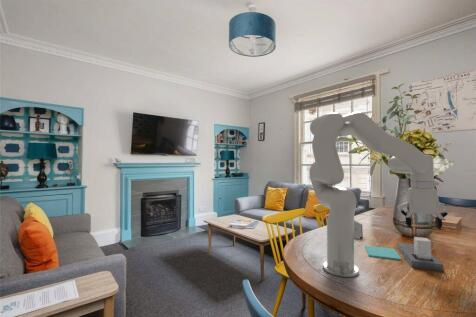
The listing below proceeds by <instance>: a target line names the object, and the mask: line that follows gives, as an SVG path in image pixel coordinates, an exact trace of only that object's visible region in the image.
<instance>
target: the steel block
mask: <svg viewBox="0 0 476 317" xmlns="http://www.w3.org/2000/svg"><path fill="white" fill-rule="evenodd" d="M413 244H414V258H415V259H416V260H425V261H431V254H432V241H431V240H430V239H429V238H427V237H420V236H414V237H413Z"/></svg>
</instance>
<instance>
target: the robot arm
mask: <svg viewBox="0 0 476 317" xmlns="http://www.w3.org/2000/svg"><path fill="white" fill-rule="evenodd" d="M309 124H310V125H309V130H310V133H311V134H312V135H313V138H312V144H311V145H312V146H311V148H312V154H313V157H314V158H313V159H314V162H313V163H312V164H311V166H310V167H309V172H308V173H309V180H310V182H311V186H312V189H313V191H314V194H315V197H316V200H317V201H318V203H319V204H320V205H321V206H323V207H325V208H327V209H329V212H328V214H327V220H326V247H327V248H326V255H327V256H326V260H325V261H324V262H323V263H322V269H323V270H324V271H326V272H327V273H329V274H331V275H333V276H335V277H336V276H337V277H341V278H342V277H343V278H353V277H356V276H358V275H359V273H360V269H359V267H358V266H357V265H355V238H354V220H355V212H356V207H357V197H356V194H354V192H353V191H352V190H350V189H348V188H346V187H343V186H339V184H341V183H342V182H343V180H344V178H345V172H344V169H343V166H342V162H341V160H340V156H339V154H338V150H337V139H338V137H346V136H351V135H353V136H354V137H355V138H356V139H358V140H359V142H360V143H362V144H363V145H364V146H366V147H367V148H368V150H371V151H373V152H376V153H379V154H383V155H386V156H387V155H388V156H390V158H389V159H388V160H387V167H388V168H389V170H390V171H391V172H394V173H397V174H398V173H399V174H410V187H408V189H407V194H406V201H405V202H403V203H401V204H398V205H397V206H396V207H397V208H398V209H397V210H399V212H400V213H401V215H403V216H404V217H405V225H406V226H407V228H412V218H411V216H412V215H413V214H420V215H434V216H436V217H435V218H434V220H435V223H434V224H435V225H434V227H435V228H436V229H438V230H442V228H443V220H444V218H445V217H447V216H448V213H449V212H450V210H451V207H448V206H446V205H444V204H441V203H440V200H439V195H438V191H437V188H436V187H438V186H439V182H436V181H435V178H434V177H435V175H434V174H435V172H434V170H435V168H434V157H433V155H431V154H424V153H423V152H422V151H421V150H420V149H419V148H417V147H416V146H415V145H414V144H411V143H410V142H408V141H406V140H404V139H401V138H399V137H398V136H395V135H392V134H390V133H388V132H387V131H386V130H384V129H383V128H382V127H381V126H380V125H379V124H378V123H377V122H375V121H374V120H373V119H372V118H371V117H370V116H369V115H368V114H366V113H364V112H362V111H354V112H352V113H348V114H344V115H343V114H341V113H340V112H335V111H333V112H328V113H325V114H323V115H320V116H318V117H316V118H314V119H313V120H312V121H311V123H309ZM405 207H406V211H405V210H404V208H405ZM441 209H443V211H442V212H440V210H441Z"/></svg>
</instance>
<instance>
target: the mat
mask: <svg viewBox="0 0 476 317" xmlns="http://www.w3.org/2000/svg"><path fill="white" fill-rule="evenodd" d="M364 248H365V250H366V253H367V255H368V257H370V258H379V259H380V258H381V259H388V260H397V261H402V257H401V256H400V255H399V253H398V252H397V251H396V250H395V248H390V247H382V246H379V247H378V246H372V245H364Z"/></svg>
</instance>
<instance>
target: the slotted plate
mask: <svg viewBox="0 0 476 317" xmlns="http://www.w3.org/2000/svg"><path fill="white" fill-rule="evenodd" d="M396 249H397V250H398V251H399V253H400V254H401V255H402V256H403V258H404V259H405V260H406V262H407V263H408V264H409V266H410V268H416V269H422V270H424V269H425V270H431V271H439V272H444V264H443V262H441V261H440V259H438V258H437V257H436V256H435V255H434V254H433V253H431V261H425V260H416V259H415V258H414V243H406V242H396Z"/></svg>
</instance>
